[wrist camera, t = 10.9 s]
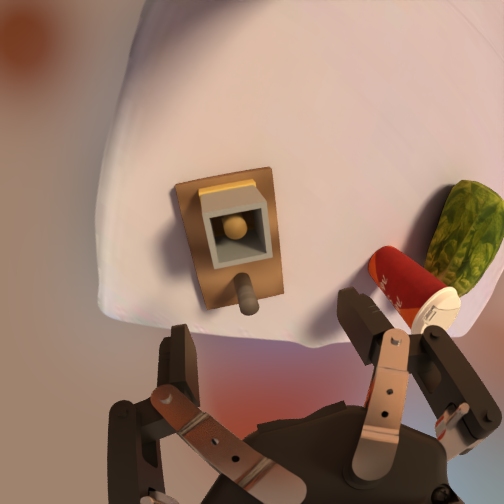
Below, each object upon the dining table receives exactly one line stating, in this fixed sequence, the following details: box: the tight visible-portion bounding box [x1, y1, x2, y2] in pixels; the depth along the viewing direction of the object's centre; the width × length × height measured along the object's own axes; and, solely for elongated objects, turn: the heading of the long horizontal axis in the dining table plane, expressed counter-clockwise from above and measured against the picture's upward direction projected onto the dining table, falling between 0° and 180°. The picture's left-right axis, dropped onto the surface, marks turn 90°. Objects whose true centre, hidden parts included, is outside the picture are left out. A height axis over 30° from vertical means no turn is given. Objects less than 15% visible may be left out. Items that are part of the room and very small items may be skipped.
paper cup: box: [368, 246, 461, 335], centre depth 32 cm, size 8×8×14 cm
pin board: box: [175, 167, 284, 316], centre depth 30 cm, size 16×10×7 cm, turn 8°
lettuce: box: [424, 180, 504, 298], centre depth 33 cm, size 12×21×11 cm, turn 162°
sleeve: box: [199, 179, 273, 269], centre depth 26 cm, size 6×6×7 cm
